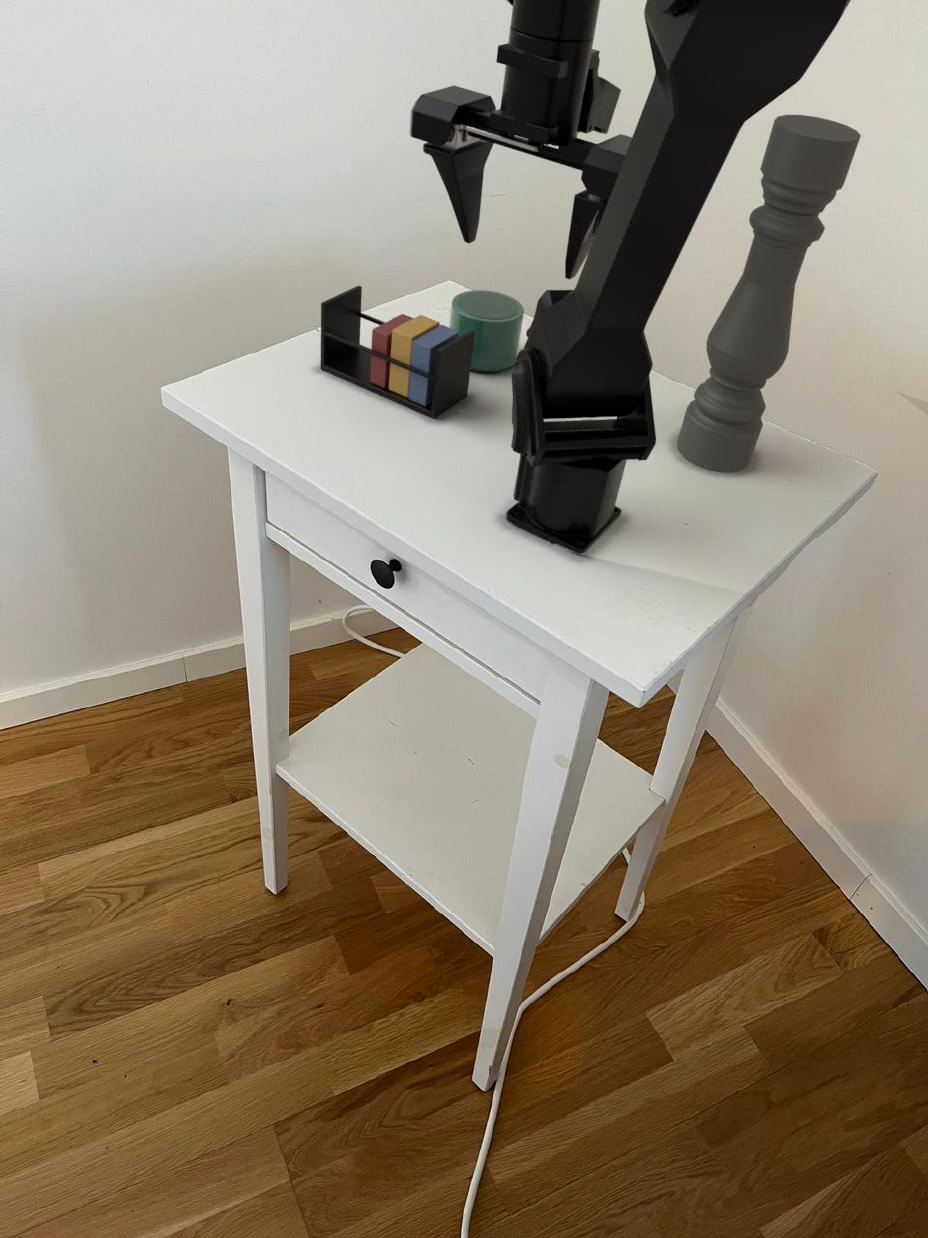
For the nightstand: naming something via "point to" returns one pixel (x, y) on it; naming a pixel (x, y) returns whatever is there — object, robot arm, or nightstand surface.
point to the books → (408, 354)
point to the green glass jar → (489, 327)
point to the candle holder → (765, 289)
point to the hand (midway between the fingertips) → (519, 259)
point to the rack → (355, 360)
